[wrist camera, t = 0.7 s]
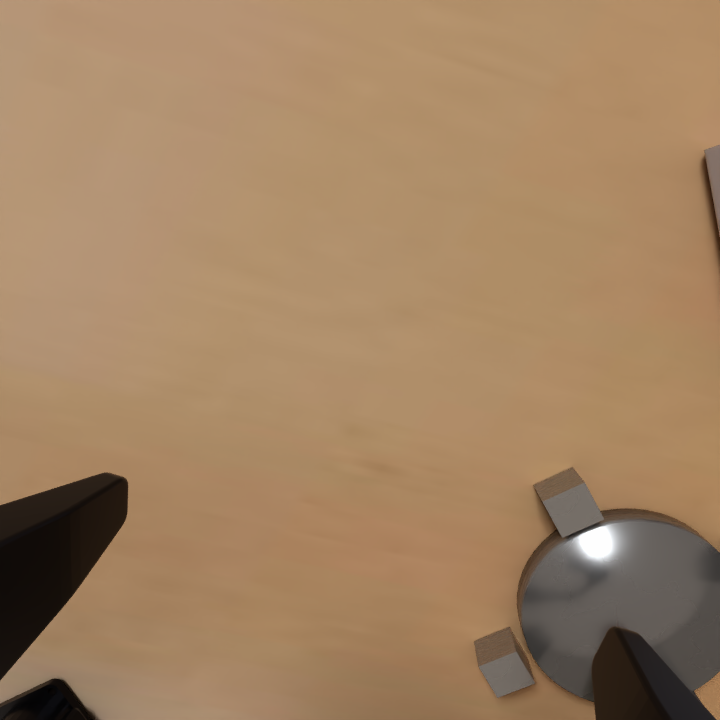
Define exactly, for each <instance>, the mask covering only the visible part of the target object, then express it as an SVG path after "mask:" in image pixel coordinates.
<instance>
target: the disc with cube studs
mask: <svg viewBox="0 0 720 720" xmlns="http://www.w3.org/2000/svg"><path fill="white" fill-rule="evenodd" d="M533 486H534V488H535V489H536V491H537V493H538V495H539V497H540V498H541V500H542V502H543V504H544V506H545V508H546V509H547V511H548V513H549V515H550V517H551V518H552V520H553V522H554V524H555V526H556V527H557V529H558V530H556V531H555V532H553V533H552V534H551V535H550V536H549V537H547V538H546V539H545V540H544V541H543V542H542V543H541V544H540V545H539V546H538V547H537V549H536V550H535V551H534V552H533V554H532V555H531V557H530V558H529V560H528V561H527V563H526V565H525V568H524V570H523V572H522V575H521V578H520V581H519V585H518V592H517V609H518V616H519V620H520V623H521V626H522V629H523V633H524V636H525V639H526V642H527V645H528V648H529V650H530V652H531V654H532V656H533V658H534V659H535V661H536V662H537V664H538V665H539V667H540V668H541V669H542V670H543V671H544V672H545V673H546V674H547V675H548V677H550V678H551V679H552V680H553V681H554V682H556V683H557V684H558V685H559V686H561V687H563V688H564V689H566V690H567V691H569V692H571V693H573V694H575V695H577V696H579V697H581V698H584V699H587V700H589V701H592V702H594V694H593V684H592V674H591V669H592V662H593V658H594V656H595V654H596V652H597V650H598V648H599V646H600V644H601V642H602V641H603V639H604V637H605V635H606V633H607V631H608V630H609V628H611V627H613V626H618V627H621V628H624V629H628V630H631V631H634V632H636V633H638V634H640V635H641V636H642V637H643V638H644V639H645V641H646V642H647V643H648V644H649V645H650V646H651V647H652V648H653V649H654V651H655V652H656V653H657V654H658V655H659V656H660V657H661V658H662V660H663V661H664V662H665V663H666V664H667V665H668V666H669V667H670V668H671V670H672V671H673V672H674V673H675V674H676V675H677V676H678V677H679V679H680V680H681V681H682V682H683V683H684V684H685V685H686V686H687V687H688V689H689V690H690V691H691V692H692V693H693V694H694V695H695V696H696V698H697V699H698V700H699V698H698V697H697V695H696V694H695V692H694V690H696V689H698V688H699V687H701V686H702V685H704V684H705V683H706V682H708V681H709V680H711V679H712V678H713V677H714V676H715V675H716V674H717V673H718V672H719V671H720V553H719V552H718V551H717V550H716V549H715V548H714V547H713V546H712V545H711V544H710V543H709V542H708V541H707V540H705V539H704V538H703V537H702V536H701V535H700V534H699V533H698V532H697V531H695V530H694V529H692V528H691V527H689V526H688V525H686V524H685V523H683V522H681V521H679V520H677V519H675V518H672V517H669V516H667V515H664V514H661V513H657V512H652V511H648V510H640V509H613V510H605V511H600V510H599V508H598V506H597V505H596V503H595V501H594V499H593V497H592V495H591V493H590V491H589V490H588V488H587V486H586V484H585V482H584V481H583V480H582V478H581V477H580V476H579V475H578V473H577V472H576V471H575V470H574V468H573V467H572V468H570V469H568V470H565V471H563V472H561V473H559V474H557V475H555V476H553V477H550V478H548V479H546V480H544V481H542V482H540V483H537V484H535V485H533ZM474 644H475V649H476V655H477V660H478V666H479V668H480V670H481V671H482V673H483V675H484V676H485V678H486V680H487V681H488V683H489V685H490V686H491V688H492V690H493V691H494V693H495V694H496V696H497V698H498V697H501V696H504V695H506V694H509V693H511V692H514V691H517V690H519V689H522V688H524V687H527V686H530V685H532V684H535V682H534V678H533V675H532V672H531V669H530V665H529V662H528V659H527V656H526V655H525V653H524V651H523V649H522V648H521V646H520V644H519V643H518V641H517V639H516V638H515V636H514V634H513V632H512V631H511V629H510V627H508V628H506V629H503V630H501V631H498V632H496V633H494V634H491V635H489V636H486V637H484V638H481V639H479V640H477V641H474ZM699 701H700V700H699ZM700 702H701V701H700Z"/></svg>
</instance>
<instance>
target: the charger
mask: <svg viewBox="0 0 720 720" xmlns="http://www.w3.org/2000/svg"><path fill="white" fill-rule="evenodd" d="M704 152H705V157H706V163H707V168H708V174H709V180H710V185H711V191H712V196H713V202H714V207H715V213H716V218H717V224H718V230H719V235H720V145H717V146H714V147H712V148H709V149H706V150H704Z"/></svg>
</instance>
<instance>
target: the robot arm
mask: <svg viewBox="0 0 720 720" xmlns="http://www.w3.org/2000/svg"><path fill="white" fill-rule="evenodd" d="M127 509H128V482H127V480H126V478H124V477H122V476H118V475H115V474H112V473H101V474H98V475H95V476H92V477H89V478H85V479H82V480H79V481H76V482H73V483H70V484H66V485H63V486H60V487H57V488H54V489H51V490H47V491H44V492H41V493H38V494H35V495H32V496H28V497H25V498H22V499H19V500H16V501H12V502H9V503H6V504H3V505H0V680H1V679H2V678H3V677H4V675H5V674H6V673H7V672H8V671H9V670H10V668H11V667H12V666H13V665H14V664H15V663H16V661H17V660H18V659H19V658H20V657H21V656H22V655H23V653H24V652H25V651H26V650H27V649H28V648H29V646H30V645H31V644H32V643H33V642H34V641H35V639H36V638H37V637H38V636H39V635H40V634H41V632H42V631H43V630H44V629H45V628H46V627H47V625H48V624H49V623H50V622H51V621H52V620H53V618H54V617H55V616H56V615H57V614H58V613H59V611H60V610H61V609H62V608H63V607H64V605H65V604H66V603H67V602H68V601H69V599H70V598H71V597H72V596H73V594H74V593H75V592H76V590H77V589H78V588H79V586H80V585H81V584H82V582H83V581H84V579H85V578H86V577H87V575H88V574H89V572H90V571H91V569H92V568H93V567H94V565H95V564H96V562H97V561H98V560H99V558H100V557H101V555H102V554H103V552H104V551H105V550H106V548H107V547H108V545H109V544H110V543H111V541H112V540H113V538H114V537H115V535H116V534H117V533H118V531H119V530H120V528H121V527H122V525H123V524H124V522H125V519H126V516H127ZM591 674H592V684H593V694H594V705H595V715H596V720H716V719H715V718H714V717H713V715H712V714H711V713H710V712H709V711H708V710H707V709H706V708H705V707H704V705H703V704H702V703H701V702H700V701H699V700H698V699H697V698H696V696H695V695H694V694H693V693H692V692H691V691H690V690H689V689H688V687H687V686H686V685H685V684H684V683H683V682H682V681H681V680H680V679H679V677H678V676H677V675H676V674H675V673H674V672H673V671H672V670H671V668H670V667H669V666H668V665H667V664H666V663H665V662H664V661H663V660H662V658H661V657H660V656H659V655H658V654H657V653H656V652H655V651H654V649H653V648H652V647H651V646H650V645H649V644H648V643H647V642H646V641H645V639H644V638H643V637H642V636H641V635H640V634H638V633H636V632H634V631H631V630H628V629H624V628H621V627H618V626H613V627H611V628H609V630H608V631H607V633H606V635H605V637H604V639H603V641H602V642H601V644H600V646H599V648H598V650H597V652H596V654H595V656H594V658H593V662H592V669H591ZM0 720H91V719H90V717H89V716H88V715H87V713H86V712H85V711H84V710H83V708H82V707H81V706H80V704H79V703H78V702H77V700H76V699H75V698H74V696H73V695H72V694H71V692H70V691H69V690H68V688H67V687H66V686H65V684H64V683H63V682H62V681H61V680H59V679H51V680H49V681H47V682H45V683H43V684H40V685H38V686H36V687H34V688H32V689H30V690H28V691H26V692H24V693H22V694H20V695H17V696H15V697H13V698H11V699H9V700H7V701H5V702H3V703H1V704H0Z"/></svg>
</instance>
